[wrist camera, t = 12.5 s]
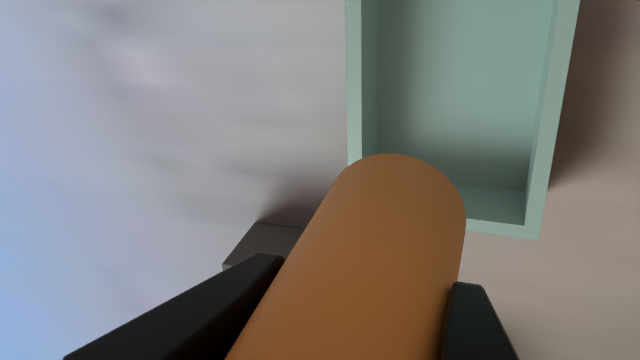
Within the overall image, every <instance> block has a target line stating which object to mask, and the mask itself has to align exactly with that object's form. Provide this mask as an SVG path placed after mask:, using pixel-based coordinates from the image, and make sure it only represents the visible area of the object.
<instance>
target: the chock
mask: <svg viewBox="0 0 640 360" xmlns="http://www.w3.org/2000/svg"><path fill="white" fill-rule="evenodd" d="M304 230H305V229H303V228H294V227H286V226H278V225H270V224H262V223H254V224H253V226H252V227H251V228H250V230H249V231H248V232H247V233H246V235H245V236H244V237H243V238H242V240H241V241H240V242H239V243H238V245H237V246H236V247H235V249H234V250H233V251H232V252H231V254H230V255H229V256H228V257H227V259H226V260H225V261H224V262H223V264H222V267H223V271H224V270H226V269H228V268H230V267H231V266H233V265H235V264H237V263H239V262H241V261H243V260H244V259H246V258H248V257H250V256H252V255H254V254H256V253H258V252H269V253H276V254H281V255H283V256H284V257H285V260H286V259H287V257H288V256H289V254H290V253H291V251H292V249H293V248H294V246H295V245H296V243H297V241H298V240H299V238H300V237H301V235H302V233H303V232H304Z"/></svg>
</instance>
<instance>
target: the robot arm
mask: <svg viewBox="0 0 640 360" xmlns="http://www.w3.org/2000/svg"><path fill="white" fill-rule="evenodd" d="M285 261H286V260H285V257H284V256H283V255H281V254H276V253H269V252H258V253H256V254H254V255H252V256H250V257H248V258H246V259H244V260H243V261H241V262H239V263H237V264H235V265H233V266H231V267H230V268H228V269H226V270H224V271H222V272H220V273H218V274H217V275H215V276H213V277H211V278H209V279H207V280H205V281H204V282H202V283H200V284H198V285H196V286H194V287H192V288H191V289H189V290H187V291H185V292H183V293H181V294H179V295H178V296H176V297H174V298H172V299H170V300H168V301H166V302H165V303H163V304H161V305H159V306H157V307H155V308H153V309H151V310H150V311H148V312H146V313H144V314H142V315H140V316H138V317H137V318H135V319H133V320H131V321H129V322H127V323H125V324H124V325H122V326H120V327H118V328H116V329H114V330H112V331H111V332H109V333H107V334H105V335H103V336H101V337H99V338H98V339H96V340H94V341H92V342H90V343H88V344H86V345H85V346H83V347H81V348H79V349H77V350H75V351H73V352H71V353H70V354H68V355H66V356H64V357H63V360H224V359H225V358H226V356H227V354H228V353H229V351H230V349H231V348H232V346H233V345H234V343H235V341H236V340H237V338H238V337H239V335H240V333H241V332H242V330H243V329H244V327H245V325H246V324H247V322H248V320H249V319H250V317H251V316H252V314H253V312H254V311H255V309H256V308H257V306H258V304H259V303H260V301H261V299H262V298H263V296H264V295H265V293H266V291H267V290H268V288H269V287H270V285H271V283H272V282H273V280H274V278H275V277H276V275H277V274H278V272H279V270H280V269H281V267H282V266H283V264H284V262H285ZM440 360H520V359H519V357H518V355H517V353H516V351H515V349H514V347H513V345H512V343H511V341H510V339H509V338H508V336H507V334H506V332H505V330H504V328H503V326H502V324H501V322H500V320H499V318H498V316H497V314H496V312H495V310H494V308H493V306H492V304H491V302H490V300H489V298H488V296H487V294H486V292H485V290H484V288H483V287H482V286H481V285H478V284H471V283H465V282H454V283H453V284H452V288H451V293H450V298H449V302H448V307H447V312H446V317H445V322H444V327H443V333H442V342H441V356H440Z"/></svg>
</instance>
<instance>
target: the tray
mask: <svg viewBox="0 0 640 360" xmlns="http://www.w3.org/2000/svg"><path fill="white" fill-rule="evenodd" d="M579 5H580V0H345V34H346V89H347V144H348V166H349V165H351V164H352V163H354V162H356V161H358V160H359V159H362V158H365V157H368V156H372V155H376V154H386V153H387V154H401V155H406V156H410V157H414V158H417V159H419V160H422V161H424V162H426V163H428V164H430V165H431V166H433V167H434V168H436V169H437V170H439V171H440V172H441V173H442V174H444V175H445V176H446V177H447V178H448V179H449V180H450V182H451V183H452V184H453V185H454V186H455V188H456V190H457V191H458V193H459V195H460V197H461V199H462V201H463V204H464V207H465V212H466V230H465V231H471V232H478V233H486V234H493V235H500V236H508V237H515V238H523V239H530V240H538V239H539V233H540V228H541V222H542V216H543V211H544V205H545V199H546V193H547V188H548V182H549V176H550V171H551V165H552V159H553V153H554V148H555V142H556V136H557V130H558V125H559V119H560V113H561V108H562V102H563V96H564V90H565V85H566V79H567V73H568V68H569V62H570V56H571V50H572V45H573V39H574V33H575V28H576V22H577V16H578V10H579Z"/></svg>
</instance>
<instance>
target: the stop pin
mask: <svg viewBox="0 0 640 360" xmlns="http://www.w3.org/2000/svg"><path fill="white" fill-rule="evenodd" d="M465 230H466V212H465V207H464V204H463V201H462V199H461V197H460V195H459V193H458V191H457V190H456V188H455V186H454V185H453V184H452V183H451V182H450V180H449V179H448V178H447V177H446V176H445V175H444V174H442V173H441V172H440V171H439V170H437V169H436V168H434V167H433V166H431V165H430V164H428V163H426V162H424V161H422V160H419V159H417V158H414V157H410V156H406V155H401V154H387V153H386V154H376V155H372V156H368V157H365V158H362V159H359V160H358V161H356V162H354V163H352V164H351V165H349V166H348V167H347V168H345V169H344V170H343V171H342V172H341V173H340V175H339V176H338V177H337V179H336V180H335V182H334V183H333V185H332V186H331V188H330V190H329V191H328V193H327V195H326V196H325V198H324V199H323V201H322V203H321V204H320V206H319V207H318V209H317V211H316V212H315V214H314V216H313V217H312V219H311V220H310V222H309V224H308V225H307V227H306V228H305V230H304V232H303V233H302V235H301V237H300V238H299V240H298V241H297V243H296V245H295V246H294V248H293V249H292V251H291V253H290V254H289V256H288V257H287V259H286V261H285V262H284V264H283V266H282V267H281V269H280V270H279V272H278V274H277V275H276V277H275V278H274V280H273V282H272V283H271V285H270V287H269V288H268V290H267V291H266V293H265V295H264V296H263V298H262V299H261V301H260V303H259V304H258V306H257V308H256V309H255V311H254V312H253V314H252V316H251V317H250V319H249V320H248V322H247V324H246V325H245V327H244V329H243V330H242V332H241V333H240V335H239V337H238V338H237V340H236V341H235V343H234V345H233V346H232V348H231V349H230V351H229V353H228V354H227V356H226V358H225V359H224V360H440V356H441V342H442V333H443V327H444V322H445V317H446V312H447V307H448V302H449V298H450V293H451V288H452V284H453V283H454V282H457V278H458V272H459V266H460V260H461V254H462V248H463V242H464V236H465Z"/></svg>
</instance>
